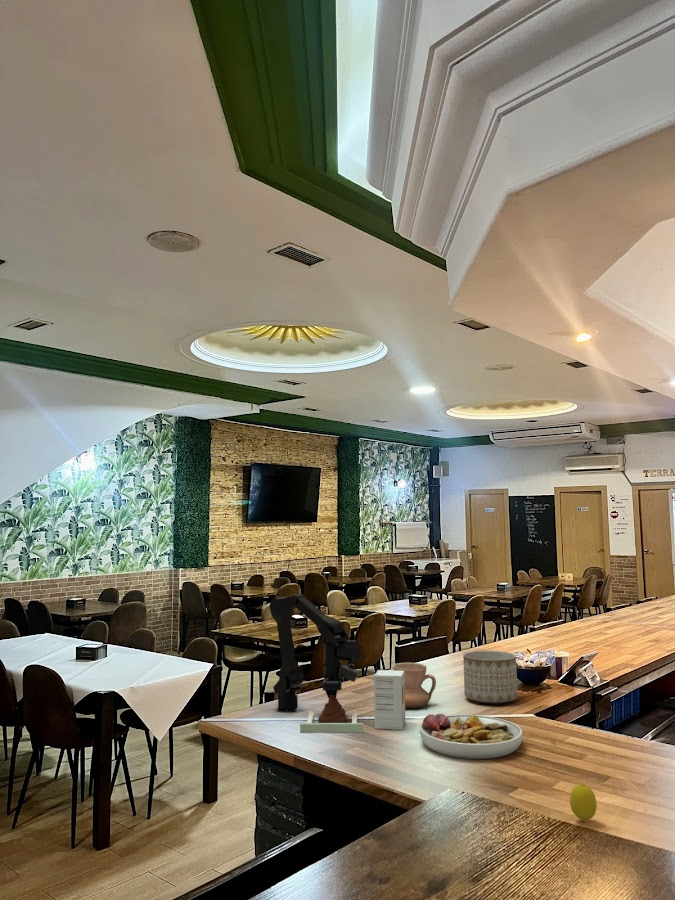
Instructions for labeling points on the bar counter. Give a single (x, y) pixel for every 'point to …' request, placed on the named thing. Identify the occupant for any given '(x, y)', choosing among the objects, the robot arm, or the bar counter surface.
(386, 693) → the supplement box
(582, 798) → the lemon
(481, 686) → the planter
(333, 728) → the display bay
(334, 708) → the poop emoji
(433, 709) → the bar counter surface
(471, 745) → the bowl
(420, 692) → the ceramic jug
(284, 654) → the robot arm
